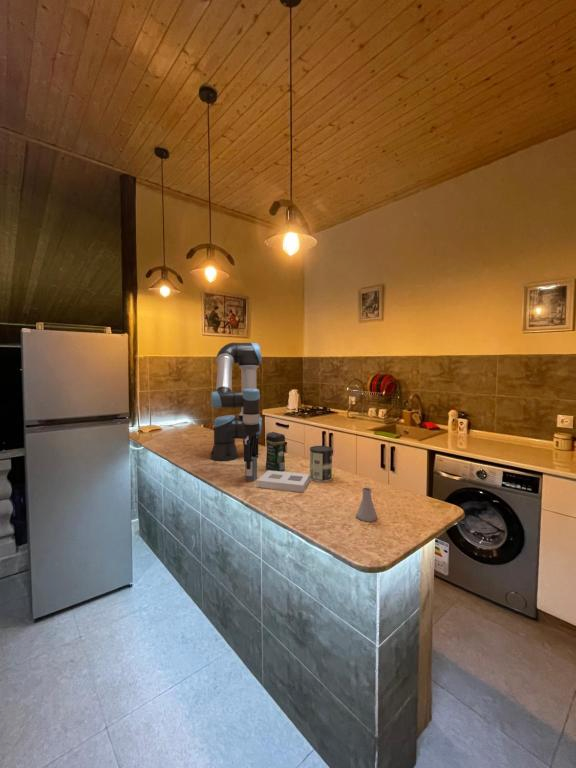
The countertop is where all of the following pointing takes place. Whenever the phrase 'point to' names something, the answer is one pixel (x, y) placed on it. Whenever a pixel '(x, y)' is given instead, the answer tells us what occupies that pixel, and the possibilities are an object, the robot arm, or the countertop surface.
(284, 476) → the outlet plate
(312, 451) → the coffee can
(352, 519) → the countertop surface
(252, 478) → the cylinder
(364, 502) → the flask
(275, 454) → the coffee jar
